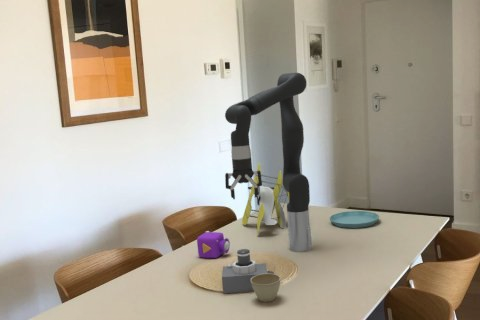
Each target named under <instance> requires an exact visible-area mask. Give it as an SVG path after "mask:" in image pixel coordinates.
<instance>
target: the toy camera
mask: <svg viewBox="0 0 480 320" xmlns="http://www.w3.org/2000/svg"><path fill="white" fill-rule="evenodd" d="M229 239H230V238H227V237H224V233H223V232H218V231H217V232H214V231H209V230H207V231H205V232H204V233H202V234H201V235H199V236H198V237H197V239H196V244H197V254H198V257H199V258H204V259H206V258H207V259H217V258H220V257H221V255H224V254H228V253H229V251H230V248H231V245H230V243H231V242H230V240H229Z"/></svg>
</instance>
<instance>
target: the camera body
mask: <svg viewBox="0 0 480 320" xmlns="http://www.w3.org/2000/svg"><path fill="white" fill-rule="evenodd" d="M250 262H251V265H249V266H238V260H236V261H234V262H232V263H228V264H226V266H225V265H224V266H222V271H221V282H222V283H221V285H222V294H237V293H248V292H249V293H250V292H254V290H253V288H252V285H251V278H252V277H254V276H256V275H259V274H265V273H267V271H268V268H267V263H266V262H265V263H264V262H263V263H256V261H255V260H252V259H250Z"/></svg>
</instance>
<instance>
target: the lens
mask: <svg viewBox="0 0 480 320" xmlns="http://www.w3.org/2000/svg"><path fill="white" fill-rule="evenodd" d="M236 256H237V257H236V258H237V261H238V266H249V265H251V262H250V260H251V252H250V250H249V249H248V248H247V249H246V248H242V249H238V250H237V252H236Z"/></svg>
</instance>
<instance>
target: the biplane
mask: <svg viewBox="0 0 480 320" xmlns="http://www.w3.org/2000/svg"><path fill="white" fill-rule="evenodd" d="M261 167H262V166H261V162H260V161H259V162H258V164H257V168H256V171H258V170H260V173H261V177H263V178H264V177H265V178H266V180H269V179H274V180H276V182H273V181H266V180H262V183H264V184H265V183H266V184H270V185H274V187H271V186H270V187H268V186H266V185H262V186H259V187H258V196H257V197H256V203H257V206H258V210H257V209H252V208H253V207H252V200H253V199H252V198H253V196H255V192H254V186H253V185H252V184H251V186H248V187H247V190H250V192H249V195H248V199H247V202H246V205H245V209H244V212H243V215H242V219H241V223H242V225H244V226H247V224H248V221H249V218H255V219H256V220H257V221H256V229H257V231H256V236H258V235H259V232H260V227H261V222H262V223H265V224H264V225H265V226H272V225H273V226H274V225H276V224H277V223H278V225H279V227H280V228H281V229H286V228H287V222H286V216H285V215H286V214H285V212H284V209H283V208H284V207H285V204H286V201H287V198H288V199H289V192H287V191H286V190H285V189H284V187H283V172H282V171H281V169H280V170H279V172H278V176H277V177H276V176H272V175H266V174H262V171H261V170H262V169H261ZM253 180H254V182H255V183H256V184H257V183H259V181H258V177H257V176H256V175H255V174H254V178H253ZM281 189H282V191H281ZM284 190H285V192H286V193H285V194H284ZM280 192H281V194H280ZM279 195H280V196H279ZM283 196H285V198H284V199H285V200H284V199H283V198H282V197H283ZM281 198H282V200H281ZM283 200H284V203H283V206H282V203H281V201H283ZM274 211H275V213H276V219H275V217H274V218H272V215H273V214H274ZM251 212H256V215H257V216H255V215H252V214H251Z"/></svg>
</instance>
